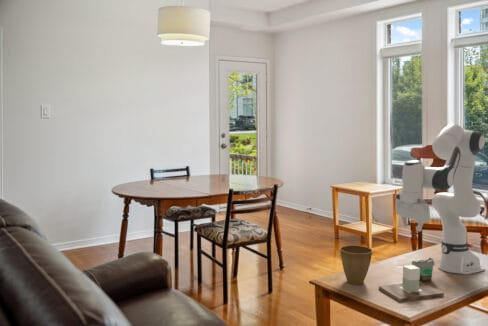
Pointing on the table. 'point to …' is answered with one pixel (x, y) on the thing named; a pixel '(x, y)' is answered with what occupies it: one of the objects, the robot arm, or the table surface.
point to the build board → (404, 295)
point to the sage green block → (410, 284)
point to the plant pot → (355, 262)
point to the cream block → (411, 272)
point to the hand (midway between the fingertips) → (412, 228)
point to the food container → (425, 269)
